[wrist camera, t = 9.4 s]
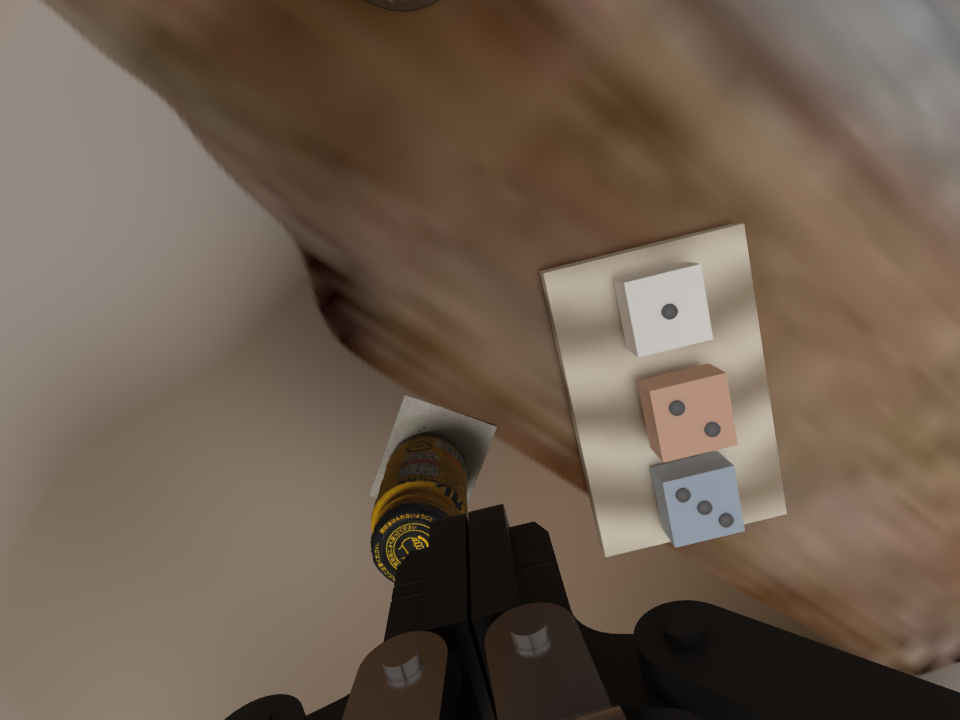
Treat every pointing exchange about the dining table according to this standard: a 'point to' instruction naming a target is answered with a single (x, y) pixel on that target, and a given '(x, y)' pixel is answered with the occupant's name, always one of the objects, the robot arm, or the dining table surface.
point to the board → (615, 371)
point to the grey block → (698, 498)
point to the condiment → (423, 477)
